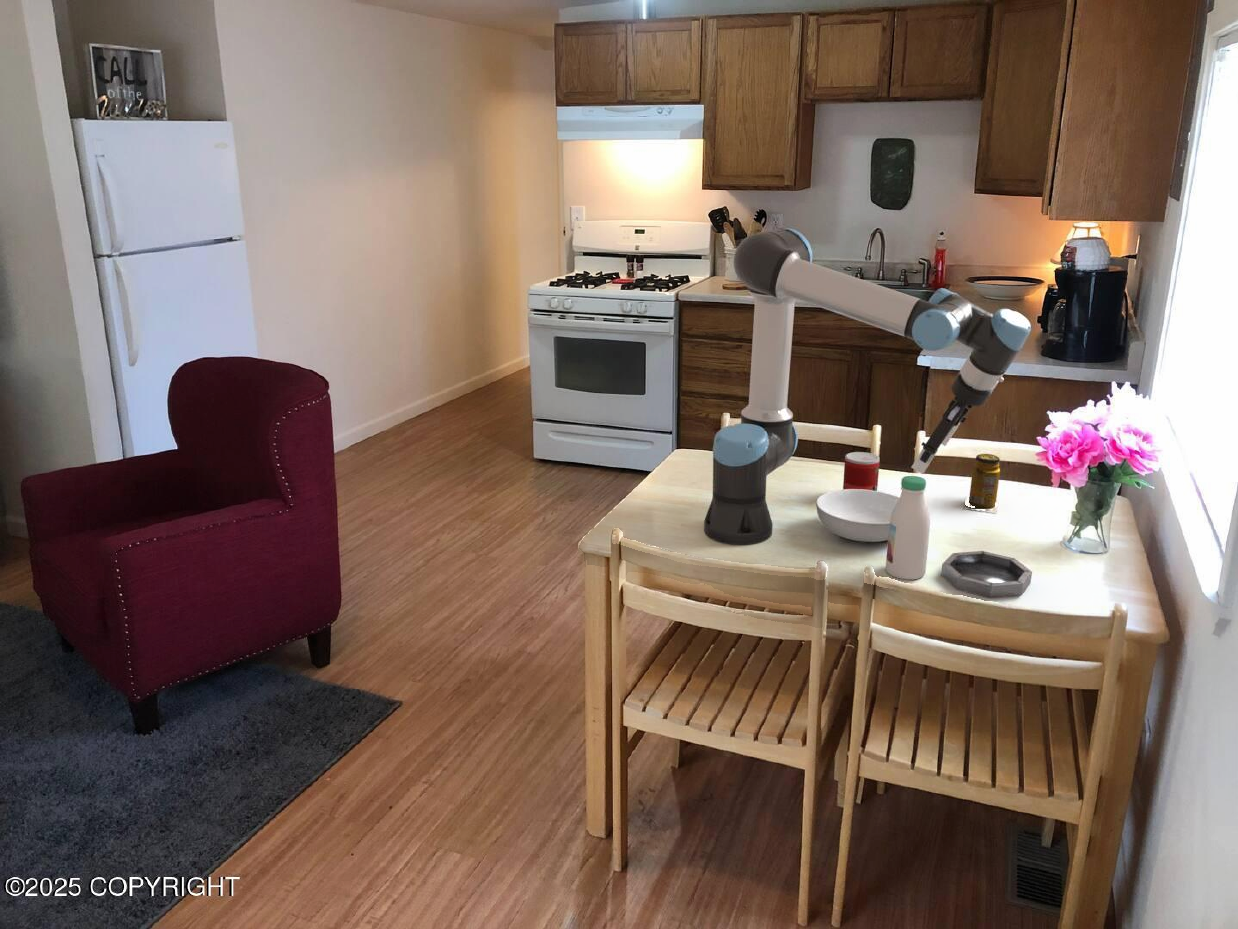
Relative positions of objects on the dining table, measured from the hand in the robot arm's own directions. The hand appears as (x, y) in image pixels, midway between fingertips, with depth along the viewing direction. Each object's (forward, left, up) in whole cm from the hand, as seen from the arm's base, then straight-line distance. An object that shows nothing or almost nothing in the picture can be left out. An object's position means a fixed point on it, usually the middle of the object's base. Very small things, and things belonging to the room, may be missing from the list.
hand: (929, 455), depth 206 cm
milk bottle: (+5, -22, -18) cm, 29 cm away
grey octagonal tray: (+19, -16, -18) cm, 31 cm away
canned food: (-19, +11, -18) cm, 28 cm away
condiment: (+6, +24, -18) cm, 30 cm away
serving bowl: (-10, -8, -18) cm, 22 cm away
